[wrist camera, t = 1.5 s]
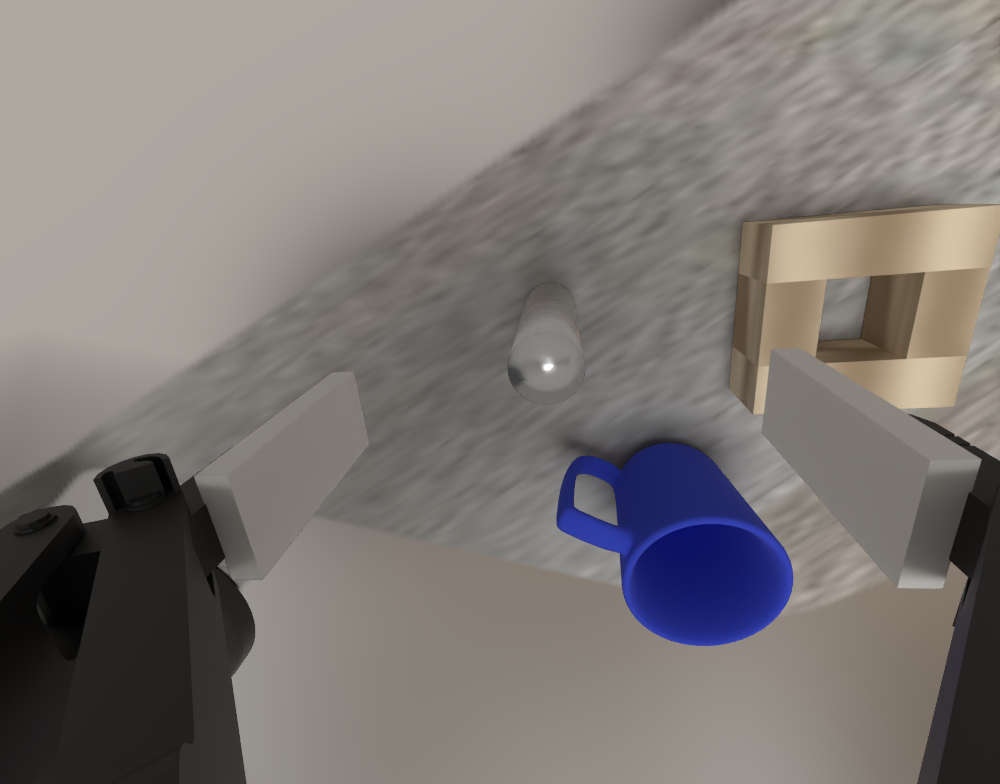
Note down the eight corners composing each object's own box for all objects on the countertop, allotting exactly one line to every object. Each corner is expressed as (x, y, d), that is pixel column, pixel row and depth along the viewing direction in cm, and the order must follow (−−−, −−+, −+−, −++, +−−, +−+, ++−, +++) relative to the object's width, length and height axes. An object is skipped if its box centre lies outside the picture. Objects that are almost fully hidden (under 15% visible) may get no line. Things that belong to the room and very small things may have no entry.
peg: (527, 332, 30) (511, 406, 19) (523, 284, 29) (504, 334, 18) (574, 329, 30) (586, 402, 19) (573, 280, 29) (584, 328, 18)
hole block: (728, 388, 30) (753, 414, 27) (742, 222, 27) (772, 225, 23) (902, 380, 29) (953, 406, 25) (941, 204, 25) (1007, 204, 22)
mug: (583, 387, 31) (594, 464, 22) (750, 453, 32) (830, 556, 23) (535, 485, 34) (528, 588, 25) (688, 544, 35) (737, 667, 26)
